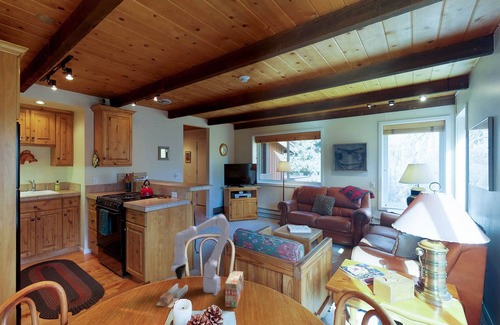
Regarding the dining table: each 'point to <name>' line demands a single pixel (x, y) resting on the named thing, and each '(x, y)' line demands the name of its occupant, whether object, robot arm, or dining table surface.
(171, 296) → the block
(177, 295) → the chute
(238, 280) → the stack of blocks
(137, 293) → the dining table surface
